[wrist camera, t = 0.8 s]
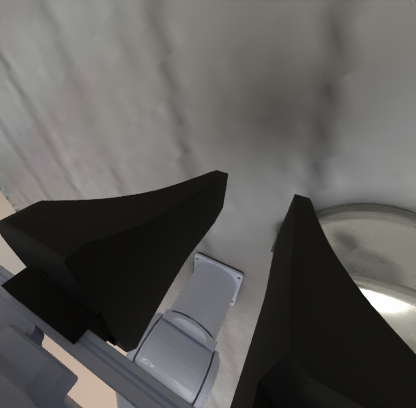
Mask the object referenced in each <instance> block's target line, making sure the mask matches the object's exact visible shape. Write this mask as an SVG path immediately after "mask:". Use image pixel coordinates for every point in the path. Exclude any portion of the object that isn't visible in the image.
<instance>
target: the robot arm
mask: <svg viewBox="0 0 416 408" xmlns="http://www.w3.org/2000/svg"><path fill="white" fill-rule="evenodd" d="M227 179H228V174H227V173H224V172H221V171H218V170H216V171H212V172H209V173H207V174H204V175H201V176H199V177H196V178H193V179H190V180H188V181H185V182H182V183H179V184H176V185H172V186H169V187H166V188H162V189H159V190H155V191H150V192H146V193H141V194H135V195H128V196H122V197H115V198H105V199H92V200H61V201H39V202H37V203H35V204H32V205H30V206H28V207H26V208H24V209H22V210H20V211H18V212H16V213H15V214H12V215H10V216H8V217H6V218H4V219H2V220H0V234H1V236H2V237H3V238H4V240H5V241H6V242H7V244H8V245H9V246H10V247H11V249H12V250H13V251H14V252H15V254H16V255H17V256H18V257H19V258H20V260H21V261H22V262H23V263H24V264H25V266H26V267H27V268H25V269H23V270H22V271H21V272H19V273H18V274H16V275H13V274H12V273H11V272H9V271H8V270H6V269H5V268H4V267H2V266H1V265H0V408H82V407H81V406H80V405H79V404H77V403H76V402H75V401H74V400H73V399H71V398H70V397H69V396H68V395H67V393H68V392H69V391H70V389H71V388H72V387H73V386H74V384H75V383H76V382H77V380H78V377H77V376H76V375H75V374H74V373H73V372H72V371H71V370H70V369H69V368H67V367H66V366H65V365H64V364H63V363H61V362H60V361H59V360H58V359H57V358H55V357H54V356H53V355H52V354H50V353H49V352H48V351H47V350H45V349H44V348H43V347H42V341H43V339H44V333H45V334H46V335H47V336H48V337H49V338H51V339H52V340H53V341H54V342H56V343H57V344H58V345H59V346H61V347H62V348H63V349H64V350H65V351H67V352H68V353H69V354H70V355H72V356H73V357H74V358H75V359H77V360H78V361H79V362H80V363H81V364H83V365H84V366H85V367H86V368H87V369H89V370H90V371H91V372H92V373H94V374H95V375H96V376H97V377H98V378H100V379H101V380H102V381H103V382H105V383H106V384H107V385H108V386H109V387H111V388H112V389H113V390H114V391H116V398H117V405H118V408H203V407H204V405H205V403H206V401H207V399H208V397H209V395H210V392H211V390H212V387H213V385H214V382H215V379H216V376H217V373H218V370H219V365H220V359H219V353H218V352H217V351H216V350H215V347H216V345H217V341H215V340H216V338H217V335H218V333H219V330H220V328H221V325H222V323H223V321H224V318H225V316H226V313H227V311H228V308H229V306H230V305H231V306H234V304H235V301H236V298H237V295H238V292H239V289H240V285H241V282H242V279H243V276H244V275H243V274H242V273H241V272H239V271H236V270H234V269H232V268H230V267H228V266H226V265H223V264H221V263H219V262H217V261H215V260H212V259H210V258H208V257H206V256H204V255H202V254H199V253H196V254H195V262H194V272H193V274H192V275H191V277H190V278H189V280H188V281H187V283H186V285H185V286H184V288H183V289H182V291H181V292H180V294H179V296H178V297H177V299H176V300H175V302H174V303H173V305H172V306H171V308H170V310H169V309H167V310H166V311H165V313H164V314H162V313H157V314H155V313H156V311H157V309H158V307H159V305H160V304H161V302H162V300H163V298H164V296H165V295H166V293H167V291H168V289H169V288H170V286H171V284H172V282H173V281H174V279H175V277H176V276H177V274H178V272H179V271H180V269H181V268H182V266H183V264H184V263H185V261H186V260H187V258H188V257H189V255H190V254H191V253H192V251H193V250H194V249H195V247H196V246H197V245H198V243H199V242H200V241H201V240H202V238H203V237H204V236H205V234H206V233H207V232H208V230H209V229H210V228H211V226H212V225H213V224H214V222H215V221H216V219H217V217H218V215H219V214H220V212H221V210H222V208H223V204H224V198H225V191H226V185H227ZM107 341H109V342H110V343H111V344H113V345H114V346H115V345H117V346H118V347H120V348H121V349H122V350H124V351H125V352H128V353H127V355H126V357H125V356H124V355H123V354H121V353H120V352H119V351H117V350H116V349H114V348H113V347H112V346H110V345H109V344H108V343H106V342H107ZM230 408H416V354H415V353H414V351H413V350H412V349H411V348H410V347H409V346H408V345H407V344H406V343H405V342H404V341H403V339H402V338H401V337H400V336H399V335H398V334H397V333H396V332H395V331H394V330H393V328H392V327H391V326H390V325H389V324H388V323H387V322H386V320H385V319H384V318H383V317H382V316H381V315H380V313H379V312H378V311H377V310H376V309H375V308H374V306H373V305H372V304H371V303H370V301H369V300H368V299H367V298H366V296H365V295H364V294H363V293H362V291H361V290H360V289H359V287H358V286H357V285H356V283H355V282H354V281H353V279H352V278H351V277H350V275H349V274H348V272H347V271H346V269H345V268H344V266H343V265H342V263H341V262H340V260H339V259H338V257H337V256H336V254H335V252H334V251H333V249H332V247H331V245H330V243H329V241H328V239H327V237H326V236H325V233H324V231H323V229H322V227H321V225H320V223H319V220H318V218H317V215H316V213H315V210H314V207H313V204H312V202H311V200H310V198H306V197H303V196H300V195H297V194H295V195H294V198H293V200H292V202H291V205H290V207H289V210H288V212H287V214H286V217H285V219H284V222H283V224H282V226H281V229H280V232H279V235H278V238H277V241H276V244H275V248H274V253H273V258H272V263H271V269H270V274H269V279H268V284H267V290H266V294H265V298H264V301H263V305H262V308H261V311H260V315H259V318H258V321H257V325H256V328H255V331H254V334H253V338H252V341H251V344H250V347H249V350H248V354H247V357H246V360H245V363H244V366H243V369H242V373H241V376H240V379H239V382H238V385H237V388H236V391H235V394H234V397H233V401H232V404H231V407H230Z"/></svg>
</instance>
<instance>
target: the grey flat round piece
mask: <svg viewBox="0 0 416 408" xmlns="http://www.w3.org/2000/svg"><path fill="white" fill-rule="evenodd" d="M316 215H317V218H318V220H319V223H320V225H321V227H322V229H323V231H324V233H325V236H326V237H327V239H328V241H329V243H330V245H331V247H332V249H333V251H334V252H335V254H336V256H337V257H338V259H339V260H340V262H341V263H342V265H343V266H344V268H345V269H346V271H348V272H353V273H358V274H363V275H367V276H372V277H375V278H379V279H383V280H387V281H391V282H394V283H397V284H401V285H404V286H407V287H410V288H413V289H416V213H413V212H410V211H407V210H404V209H401V208H397V207H392V206H387V205H380V204H364V203H363V204H347V205H340V206H336V207H331V208H328V209H325V210H322V211H319V212H317V213H316ZM278 235H279V234H277V237H276V239H275V241H274V244H273V246H272V249H271V252H274V248H275V244H276V241H277V238H278Z"/></svg>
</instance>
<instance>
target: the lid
mask: <svg viewBox="0 0 416 408" xmlns="http://www.w3.org/2000/svg"><path fill="white" fill-rule="evenodd" d="M347 272H348V271H347ZM348 274H349V275H350V277H351V278H352V279H353V281H354V282H355V283H356V285H357V286H358V287H359V289H360V290H361V291H362V293H363V294H364V295H365V296H366V298H367V299H368V300H369V301H370V303H371V304H372V305H373V306H374V308H375V309H376V310H377V311H378V312H379V313H380V315H381V316H382V317H383V318H384V319H385V320H386V322H387V323H388V324H389V325H390V326H391V327H392V328H393V330H394V331H395V332H396V333H397V334H398V335H399V336H400V337H401V338H402V339H403V341H404V342H405V343H406V344H407V345H408V346H409V347H410V348H411V349H412V350H413V351H414V353H415V354H416V289H413V288H410V287H407V286H404V285H401V284H397V283H394V282H391V281H387V280H383V279H379V278H375V277H372V276H367V275H363V274H358V273H353V272H348Z"/></svg>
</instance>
